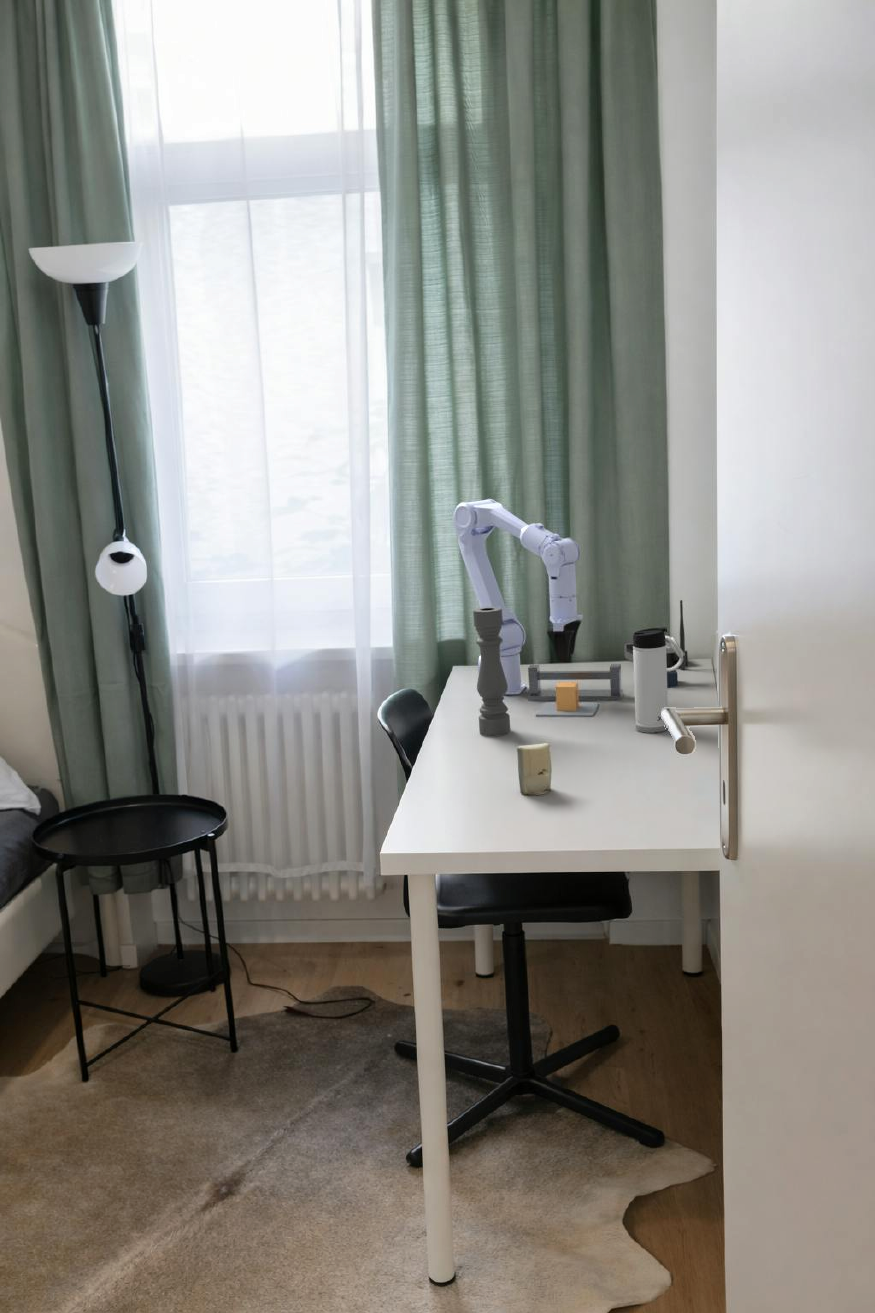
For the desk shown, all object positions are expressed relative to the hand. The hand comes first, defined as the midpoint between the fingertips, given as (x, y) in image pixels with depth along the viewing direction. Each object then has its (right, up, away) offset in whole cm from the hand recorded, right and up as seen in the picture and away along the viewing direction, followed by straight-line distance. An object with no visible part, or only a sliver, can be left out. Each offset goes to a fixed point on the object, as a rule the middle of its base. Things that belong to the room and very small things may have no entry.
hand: (565, 657), depth 244 cm
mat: (0, -11, -6) cm, 13 cm away
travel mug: (+14, -14, -24) cm, 32 cm away
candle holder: (-16, -15, -19) cm, 29 cm away
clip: (0, -11, -6) cm, 12 cm away
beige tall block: (-11, -22, -56) cm, 61 cm away
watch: (+24, -6, +11) cm, 27 cm away
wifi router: (+26, -2, +32) cm, 42 cm away
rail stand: (+3, -9, +4) cm, 10 cm away
